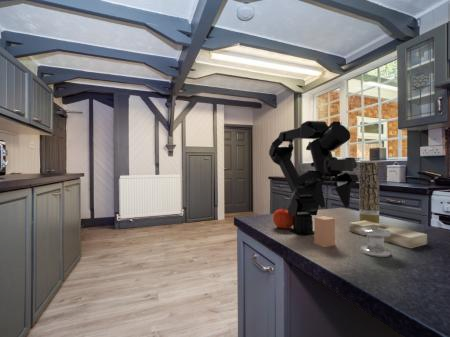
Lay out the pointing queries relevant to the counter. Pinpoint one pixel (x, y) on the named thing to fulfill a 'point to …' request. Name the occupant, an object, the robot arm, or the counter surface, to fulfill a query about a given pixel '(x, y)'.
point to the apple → (282, 219)
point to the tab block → (324, 231)
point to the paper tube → (369, 191)
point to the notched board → (393, 234)
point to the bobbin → (375, 242)
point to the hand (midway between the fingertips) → (335, 207)
